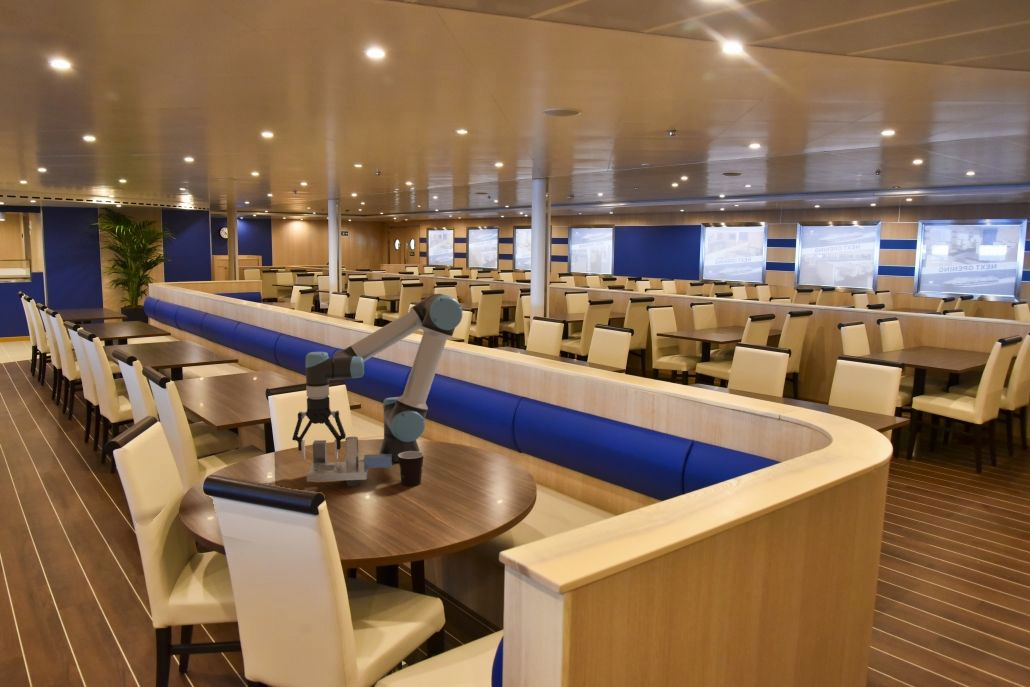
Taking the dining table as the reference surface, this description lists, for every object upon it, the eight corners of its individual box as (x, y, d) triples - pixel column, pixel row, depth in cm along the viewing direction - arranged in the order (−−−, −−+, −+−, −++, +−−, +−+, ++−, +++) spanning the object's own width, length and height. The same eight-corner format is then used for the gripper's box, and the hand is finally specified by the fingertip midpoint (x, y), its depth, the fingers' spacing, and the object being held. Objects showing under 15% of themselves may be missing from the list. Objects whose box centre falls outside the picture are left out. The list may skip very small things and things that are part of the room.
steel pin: (327, 473, 247) (326, 440, 246) (325, 476, 243) (324, 443, 242) (315, 473, 247) (314, 440, 245) (313, 477, 243) (312, 443, 241)
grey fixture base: (392, 477, 244) (391, 432, 241) (391, 488, 232) (390, 441, 230) (312, 480, 240) (311, 434, 238) (307, 492, 228) (305, 444, 226)
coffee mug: (419, 488, 232) (418, 459, 231) (394, 486, 234) (394, 457, 233) (430, 477, 244) (430, 449, 242) (406, 475, 245) (406, 448, 244)
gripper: (353, 393, 247) (354, 454, 250) (285, 395, 243) (287, 456, 246) (351, 398, 239) (352, 461, 242) (281, 399, 236) (284, 463, 239)
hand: (320, 459), depth 244 cm, fingers open, 10 cm apart
